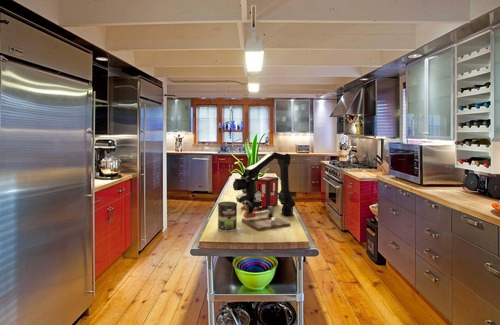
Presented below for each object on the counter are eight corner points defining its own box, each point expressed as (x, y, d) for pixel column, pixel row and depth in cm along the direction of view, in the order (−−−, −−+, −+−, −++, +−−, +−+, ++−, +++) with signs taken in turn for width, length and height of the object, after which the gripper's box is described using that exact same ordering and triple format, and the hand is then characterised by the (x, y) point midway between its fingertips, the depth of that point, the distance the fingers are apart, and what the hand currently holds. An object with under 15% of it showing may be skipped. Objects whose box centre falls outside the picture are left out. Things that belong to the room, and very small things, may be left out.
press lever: (270, 215, 192) (271, 205, 192) (273, 216, 190) (274, 206, 189) (244, 219, 182) (244, 209, 181) (246, 221, 179) (247, 210, 179)
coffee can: (238, 231, 166) (239, 205, 165) (219, 232, 163) (219, 206, 162) (234, 225, 176) (234, 200, 175) (216, 226, 173) (216, 201, 172)
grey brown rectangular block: (271, 222, 178) (271, 217, 178) (275, 222, 178) (275, 217, 178) (271, 225, 172) (271, 220, 172) (274, 225, 172) (274, 220, 172)
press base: (272, 217, 194) (272, 214, 194) (290, 225, 177) (290, 223, 177) (241, 221, 185) (241, 218, 185) (257, 230, 167) (257, 228, 167)
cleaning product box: (266, 203, 232) (267, 176, 230) (277, 204, 227) (278, 177, 225) (255, 207, 218) (256, 179, 216) (266, 209, 213) (267, 180, 211)
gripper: (231, 187, 188) (230, 212, 190) (244, 193, 171) (244, 220, 173) (248, 185, 193) (247, 210, 195) (262, 191, 176) (261, 218, 178)
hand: (249, 215), depth 185 cm, fingers closed
